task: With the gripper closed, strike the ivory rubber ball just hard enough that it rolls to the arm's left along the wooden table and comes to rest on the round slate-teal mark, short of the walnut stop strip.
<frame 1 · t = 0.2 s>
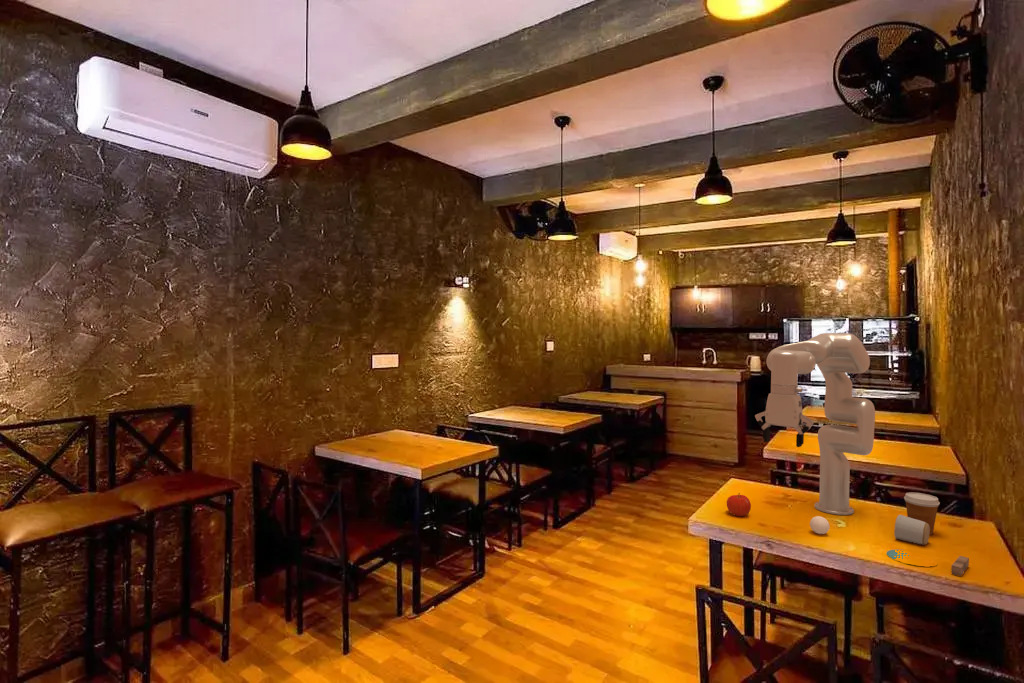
hand: (782, 444, 173), 30 cm above the table, tool pointing down, fingers open, 9 cm apart
apple: (738, 515, 196), on the table
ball: (819, 525, 178), on the table
disposable coffee cup: (920, 532, 180), on the table
grey cylinder: (911, 541, 173), on the table
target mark: (911, 558, 159), on the table
stop strip: (960, 570, 151), on the table
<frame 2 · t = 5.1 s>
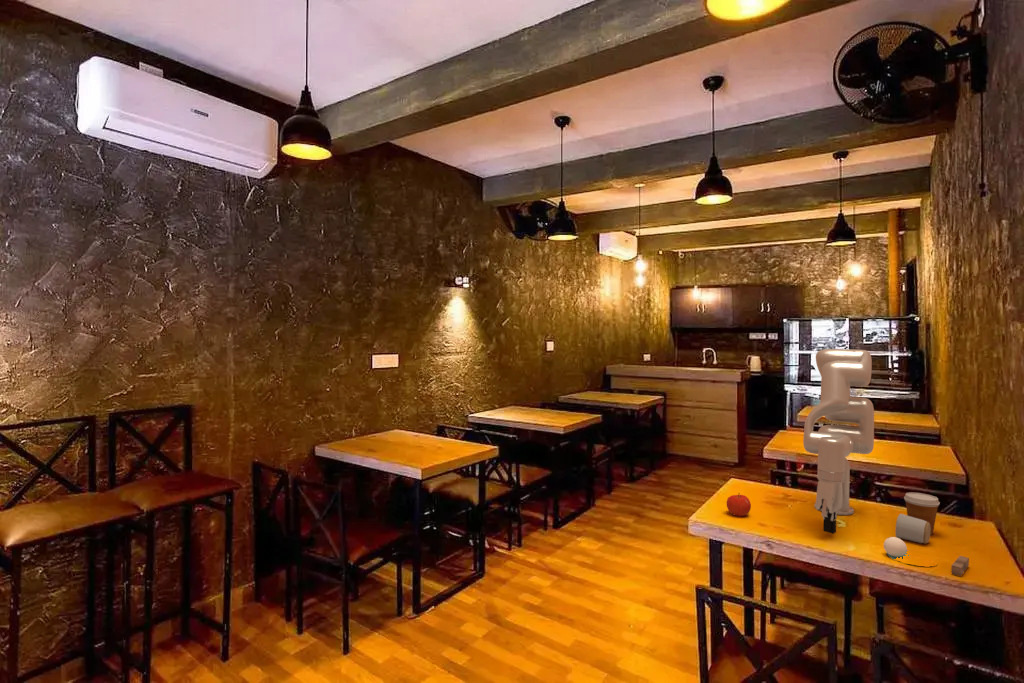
hand: (829, 531, 176), 2 cm above the table, tool pointing down, fingers closed
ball: (895, 547, 160), on the table
grey cylinder: (912, 540, 174), on the table
everything else where it was.
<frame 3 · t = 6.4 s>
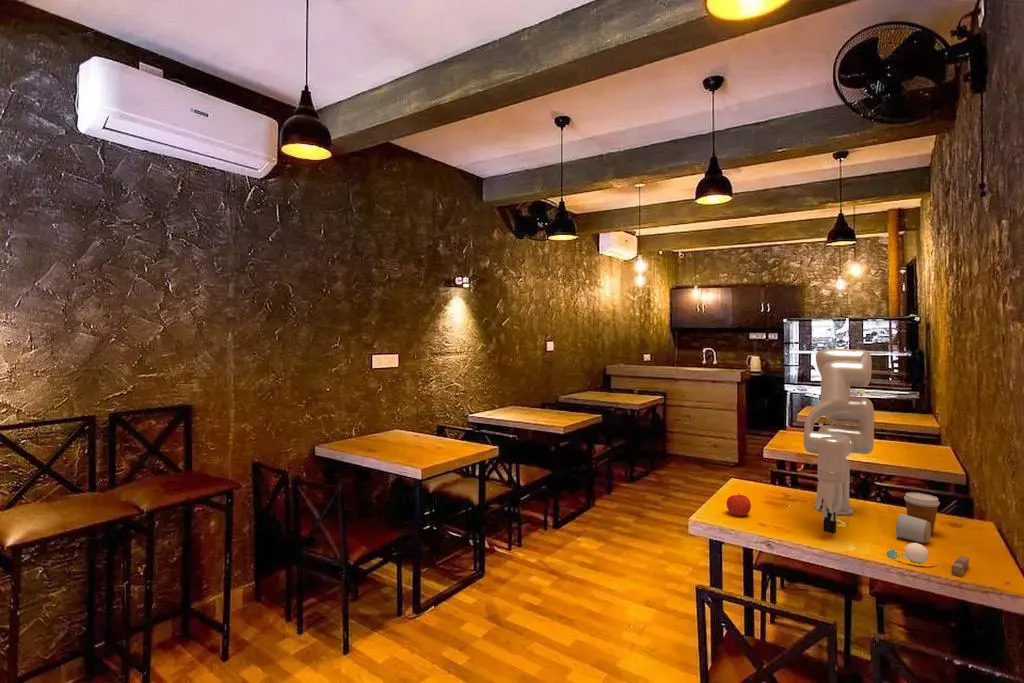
hand: (829, 531, 176), 2 cm above the table, tool pointing down, fingers closed
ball: (916, 553, 156), on the table
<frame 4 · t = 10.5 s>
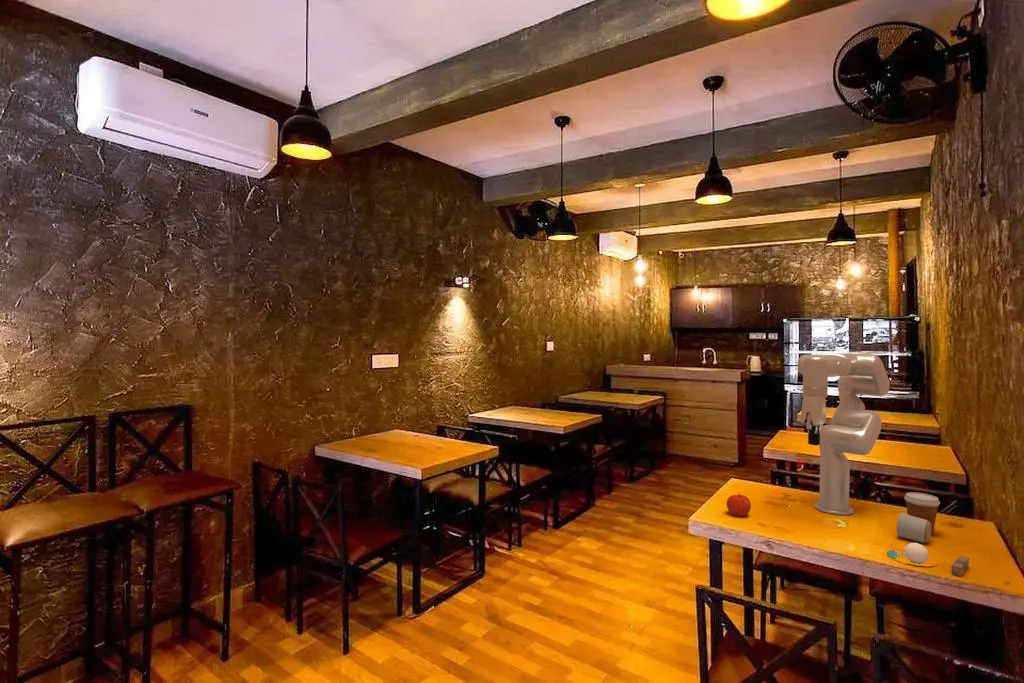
hand: (813, 444, 188), 27 cm above the table, tool pointing down, fingers closed
at the end: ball 3.1 cm from the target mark (horizontally); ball at rest at the end (0.0 cm/s); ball moved 26.8 cm from its start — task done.
